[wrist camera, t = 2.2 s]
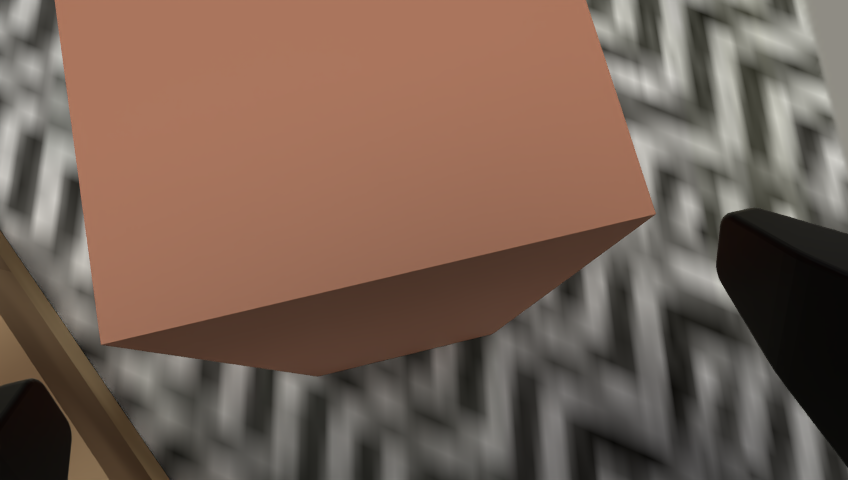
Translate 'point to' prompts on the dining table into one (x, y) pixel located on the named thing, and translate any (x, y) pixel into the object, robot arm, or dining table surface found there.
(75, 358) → the chassis
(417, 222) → the reddish brown block
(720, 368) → the dining table surface
